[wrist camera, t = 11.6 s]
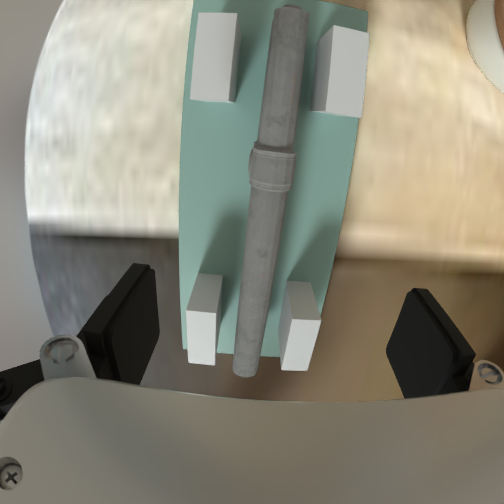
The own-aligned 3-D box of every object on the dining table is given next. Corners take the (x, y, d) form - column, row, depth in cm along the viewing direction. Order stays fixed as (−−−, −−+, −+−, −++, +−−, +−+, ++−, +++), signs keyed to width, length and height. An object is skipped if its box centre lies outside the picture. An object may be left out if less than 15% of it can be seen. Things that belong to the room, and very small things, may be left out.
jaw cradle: (361, 16, 17) (395, -10, 11) (306, 347, 30) (315, 398, 24) (198, -2, 17) (179, -37, 11) (185, 338, 30) (172, 388, 24)
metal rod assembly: (261, 340, 28) (262, 381, 23) (230, 337, 28) (226, 378, 23) (307, 25, 16) (321, 3, 12) (265, 19, 16) (268, -6, 12)
